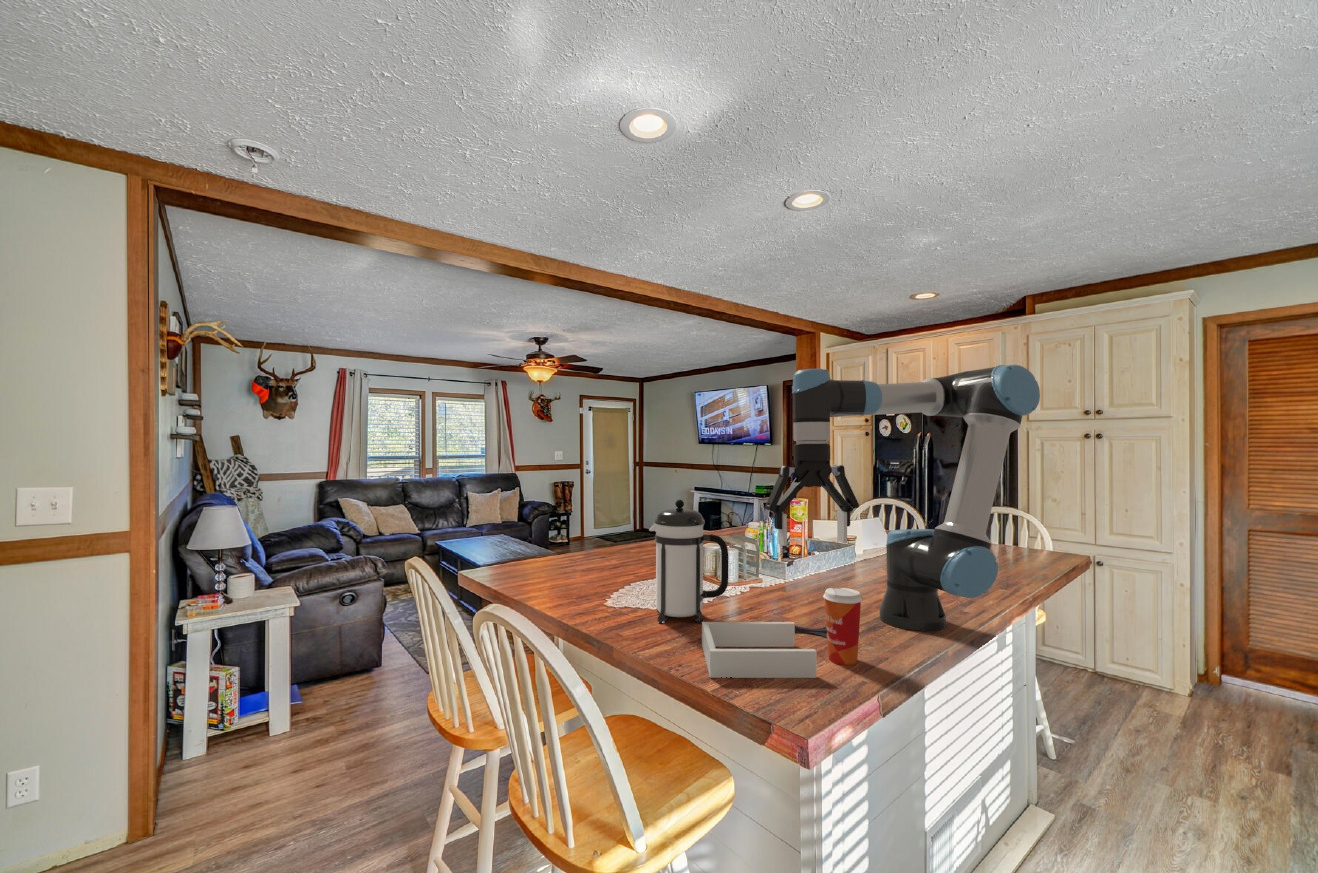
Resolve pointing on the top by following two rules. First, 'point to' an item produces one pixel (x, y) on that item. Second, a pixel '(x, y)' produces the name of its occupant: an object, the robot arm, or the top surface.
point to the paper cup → (842, 624)
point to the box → (755, 651)
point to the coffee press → (683, 563)
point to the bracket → (812, 631)
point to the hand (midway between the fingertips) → (812, 543)
